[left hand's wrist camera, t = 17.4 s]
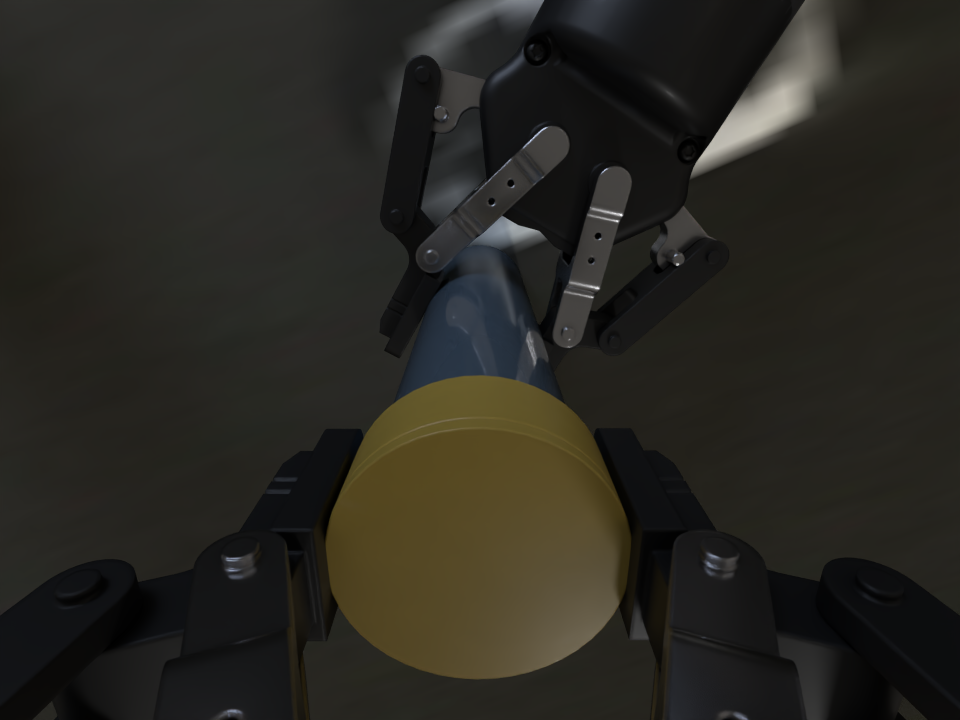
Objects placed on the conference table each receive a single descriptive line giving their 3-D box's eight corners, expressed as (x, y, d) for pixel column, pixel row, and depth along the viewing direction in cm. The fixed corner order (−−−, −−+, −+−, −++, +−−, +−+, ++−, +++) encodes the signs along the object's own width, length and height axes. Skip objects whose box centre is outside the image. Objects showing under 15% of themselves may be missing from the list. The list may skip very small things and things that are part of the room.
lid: (634, 550, 12) (667, 634, 10) (412, 617, 12) (400, 709, 10) (559, 336, 10) (580, 381, 8) (308, 425, 11) (266, 489, 9)
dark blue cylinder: (449, 337, 29) (395, 648, 11) (426, 256, 28) (319, 456, 9) (530, 318, 29) (620, 606, 10) (512, 235, 28) (579, 398, 9)
